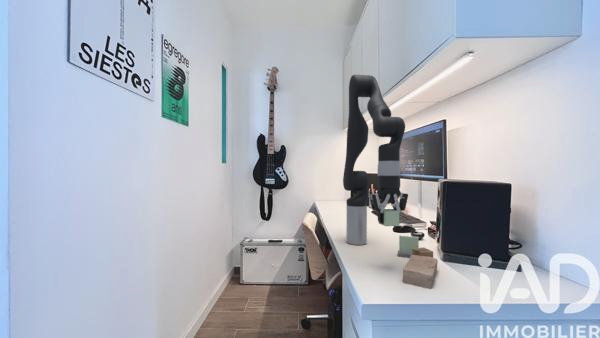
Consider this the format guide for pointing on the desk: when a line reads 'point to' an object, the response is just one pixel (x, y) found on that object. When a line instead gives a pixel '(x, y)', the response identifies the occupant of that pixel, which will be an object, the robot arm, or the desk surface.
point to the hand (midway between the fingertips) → (388, 223)
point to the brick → (420, 271)
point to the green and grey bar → (407, 245)
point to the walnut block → (422, 252)
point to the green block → (391, 217)
